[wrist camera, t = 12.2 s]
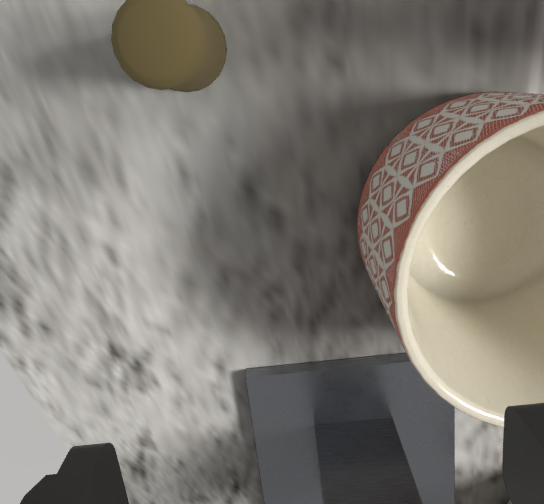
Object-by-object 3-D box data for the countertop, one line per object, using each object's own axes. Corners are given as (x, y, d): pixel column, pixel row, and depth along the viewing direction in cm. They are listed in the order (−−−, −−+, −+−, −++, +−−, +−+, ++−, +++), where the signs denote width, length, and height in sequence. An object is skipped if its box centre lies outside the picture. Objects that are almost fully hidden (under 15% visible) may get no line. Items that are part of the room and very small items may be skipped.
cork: (196, 108, 40) (169, 120, 29) (128, 57, 38) (74, 51, 28) (243, 39, 38) (231, 26, 28) (173, -16, 37) (134, -52, 26)
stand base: (448, 348, 46) (503, 433, 35) (449, 508, 52) (496, 623, 41) (246, 368, 47) (238, 458, 36) (269, 524, 52) (268, 642, 42)
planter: (640, 212, 42) (824, 281, 28) (456, 362, 47) (535, 486, 33) (493, 33, 38) (623, 9, 24) (304, 217, 42) (321, 288, 28)
